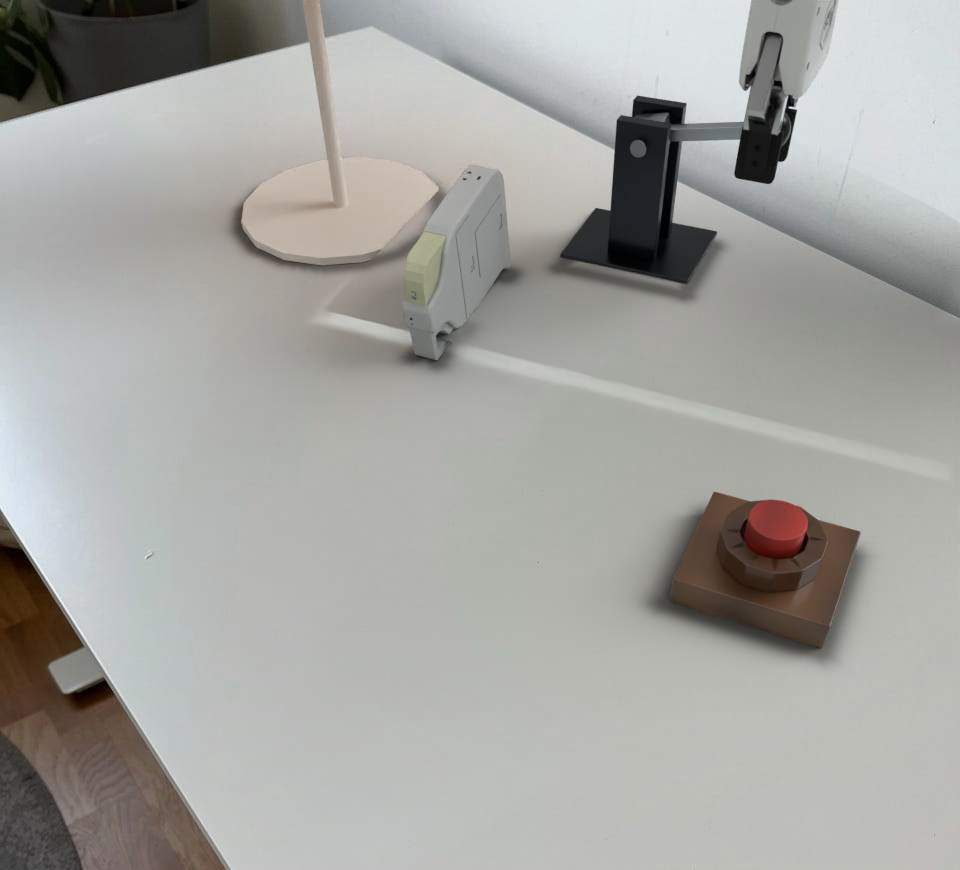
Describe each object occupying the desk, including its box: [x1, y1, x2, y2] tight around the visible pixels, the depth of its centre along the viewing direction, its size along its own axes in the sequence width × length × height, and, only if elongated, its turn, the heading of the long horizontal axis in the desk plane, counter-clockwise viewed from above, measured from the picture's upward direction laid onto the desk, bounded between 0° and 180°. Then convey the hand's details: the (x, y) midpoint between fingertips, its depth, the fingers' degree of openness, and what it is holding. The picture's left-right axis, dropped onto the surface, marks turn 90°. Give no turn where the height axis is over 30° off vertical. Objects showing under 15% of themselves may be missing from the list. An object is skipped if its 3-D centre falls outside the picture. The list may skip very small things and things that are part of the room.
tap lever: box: [635, 107, 791, 147], centre depth 80 cm, size 13×3×3 cm, turn 65°
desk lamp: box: [240, 0, 440, 266], centre depth 86 cm, size 30×30×31 cm
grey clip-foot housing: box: [402, 164, 512, 361], centre depth 82 cm, size 11×3×15 cm
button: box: [744, 499, 808, 559], centre depth 62 cm, size 4×4×2 cm
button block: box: [668, 491, 862, 649], centre depth 64 cm, size 10×9×4 cm
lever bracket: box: [559, 95, 718, 285], centre depth 86 cm, size 12×9×13 cm
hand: (760, 166), depth 81 cm, fingers closed on tap lever, 3 cm apart
